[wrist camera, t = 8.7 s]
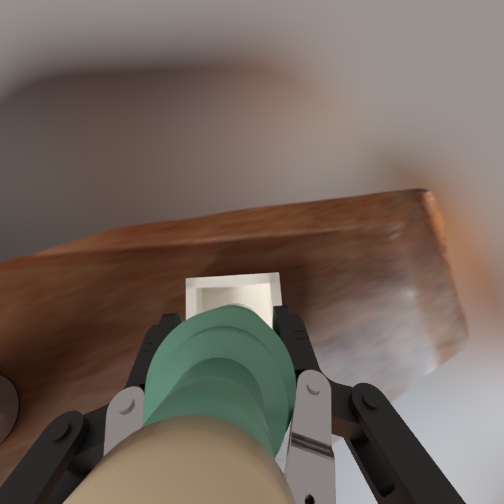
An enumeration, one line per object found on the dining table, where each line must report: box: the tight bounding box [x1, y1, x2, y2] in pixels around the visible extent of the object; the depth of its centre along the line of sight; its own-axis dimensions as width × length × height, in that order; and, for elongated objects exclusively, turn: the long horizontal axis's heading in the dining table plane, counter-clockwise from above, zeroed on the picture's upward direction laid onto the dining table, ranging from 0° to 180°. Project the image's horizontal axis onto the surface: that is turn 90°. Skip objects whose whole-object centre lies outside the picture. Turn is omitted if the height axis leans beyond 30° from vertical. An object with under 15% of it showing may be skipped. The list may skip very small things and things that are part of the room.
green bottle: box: [63, 303, 296, 504], centre depth 11 cm, size 5×5×19 cm
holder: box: [186, 272, 282, 328], centre depth 28 cm, size 10×11×5 cm
